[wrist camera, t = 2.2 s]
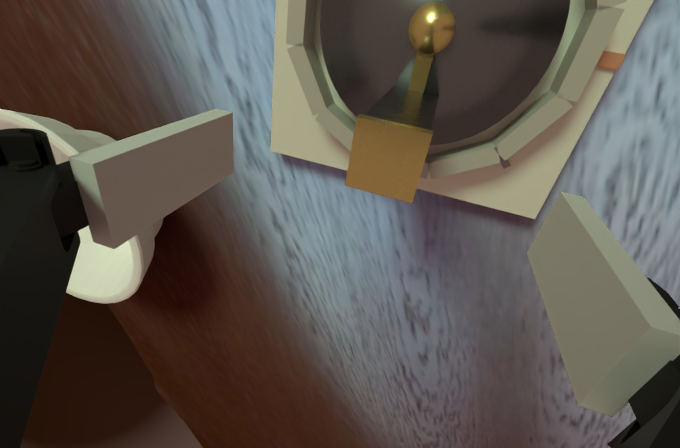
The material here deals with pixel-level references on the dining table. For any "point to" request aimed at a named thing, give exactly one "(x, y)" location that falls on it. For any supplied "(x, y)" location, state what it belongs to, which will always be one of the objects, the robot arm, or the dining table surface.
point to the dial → (431, 75)
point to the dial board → (481, 149)
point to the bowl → (92, 259)
